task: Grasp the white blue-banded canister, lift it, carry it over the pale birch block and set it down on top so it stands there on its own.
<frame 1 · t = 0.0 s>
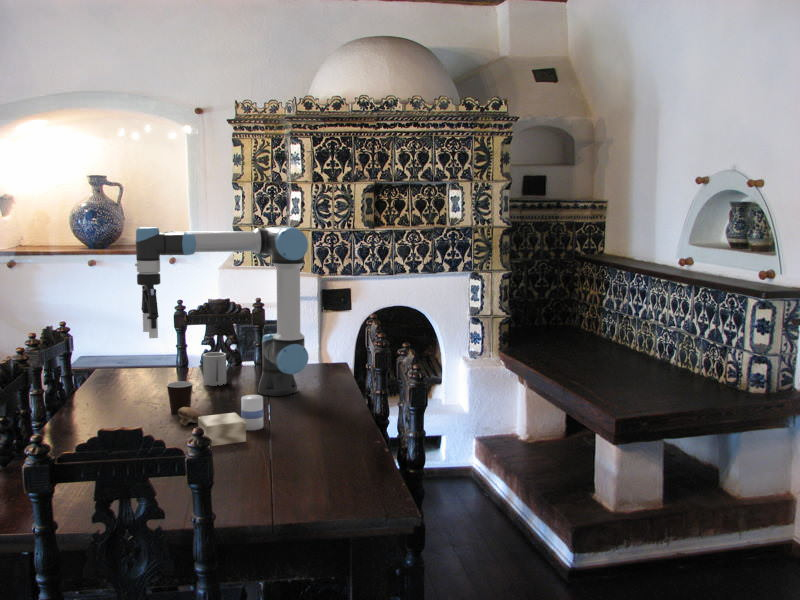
hand: (150, 334, 257), 28 cm above the table, fingers open, 13 cm apart
birch block: (221, 438, 235), on the table
white blue-banded canister: (252, 427, 247), on the table
coffee mug: (182, 411, 265), on the table
cup: (215, 383, 307), on the table
mushroom: (189, 424, 250), on the table
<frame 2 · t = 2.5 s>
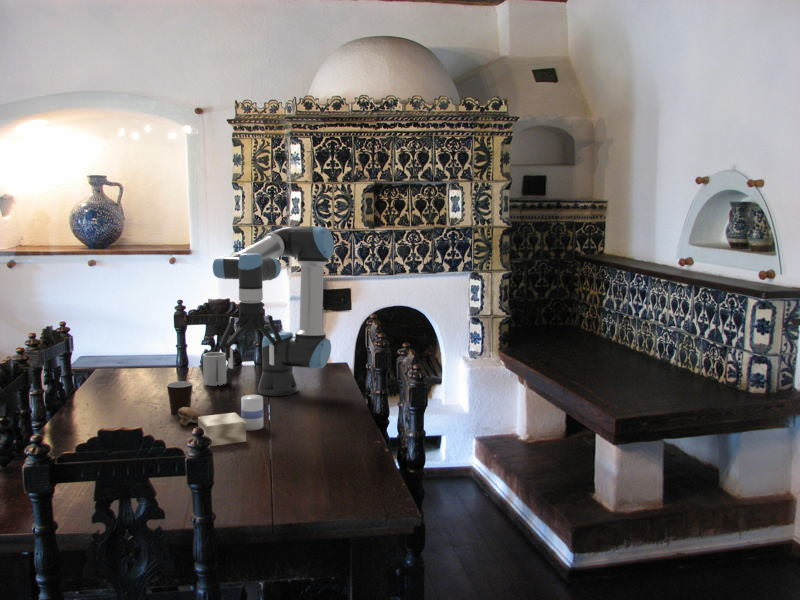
hand: (251, 366, 244), 20 cm above the table, fingers open, 13 cm apart
nothing on the table moved.
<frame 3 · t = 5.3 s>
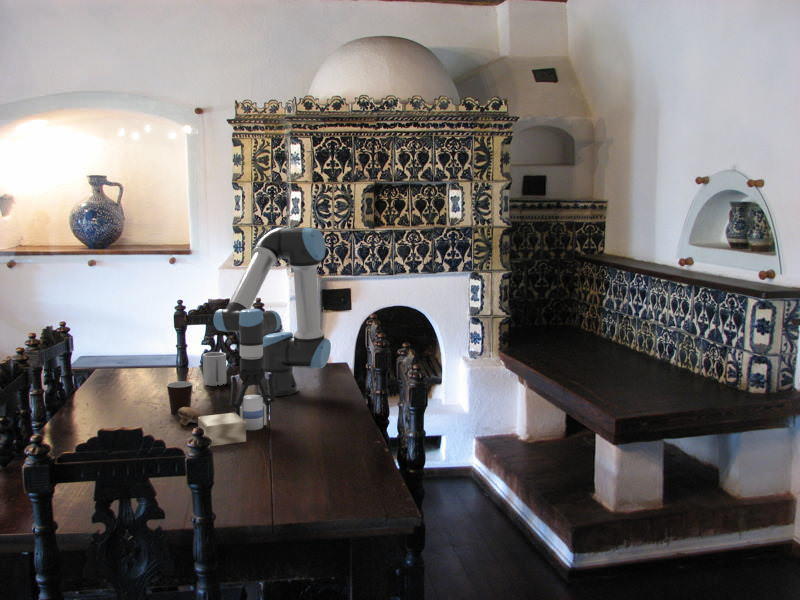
hand: (252, 425, 247), 1 cm above the table, fingers closed on white blue-banded canister, 7 cm apart
white blue-banded canister: (252, 427, 247), on the table, touching gripper
everything else where it was.
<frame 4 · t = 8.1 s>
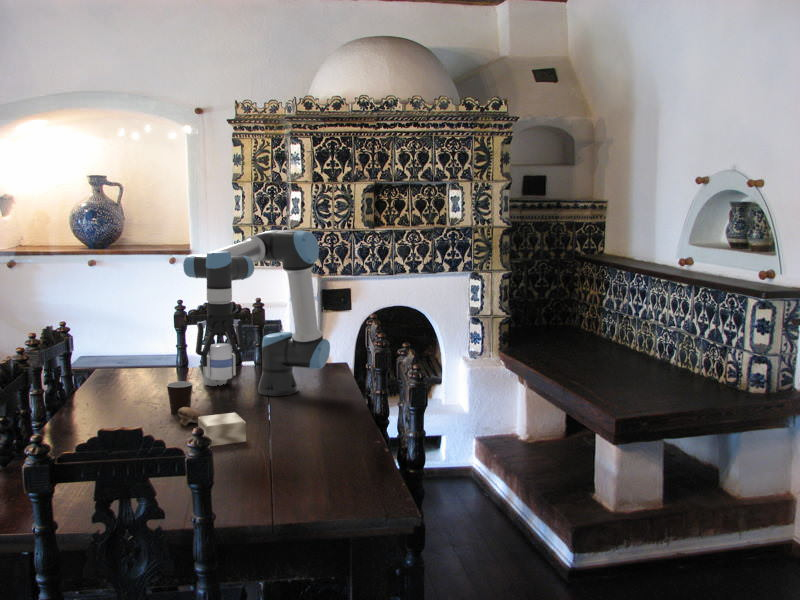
hand: (220, 375, 232), 20 cm above the table, fingers closed on white blue-banded canister, 7 cm apart
white blue-banded canister: (220, 377, 232), point 19 cm above the table, touching gripper
everything else where it was.
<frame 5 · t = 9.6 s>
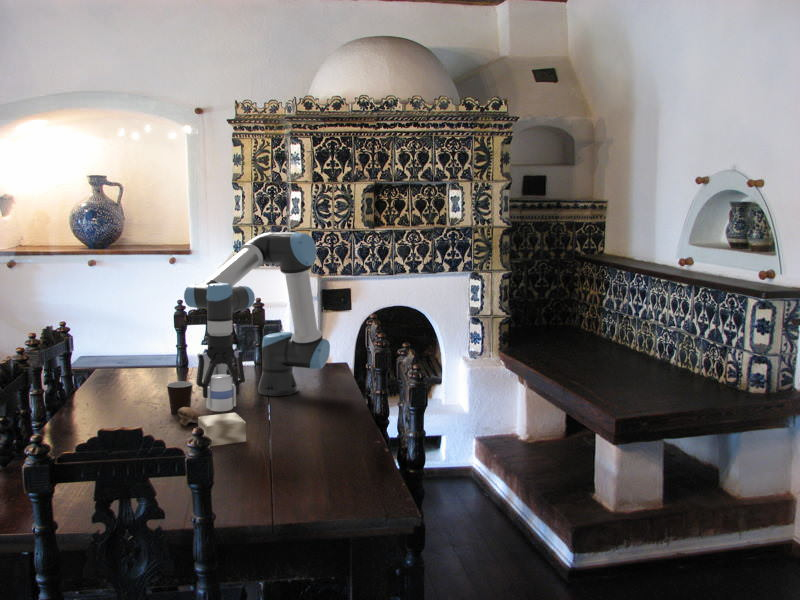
hand: (221, 406, 233), 10 cm above the table, fingers closed on white blue-banded canister, 7 cm apart
white blue-banded canister: (221, 408, 233), point 10 cm above the table, touching gripper
everything else where it was.
when the fingers open (8 cm above the table, at t = 10.9 s): white blue-banded canister drops 1 cm, resting on birch block.
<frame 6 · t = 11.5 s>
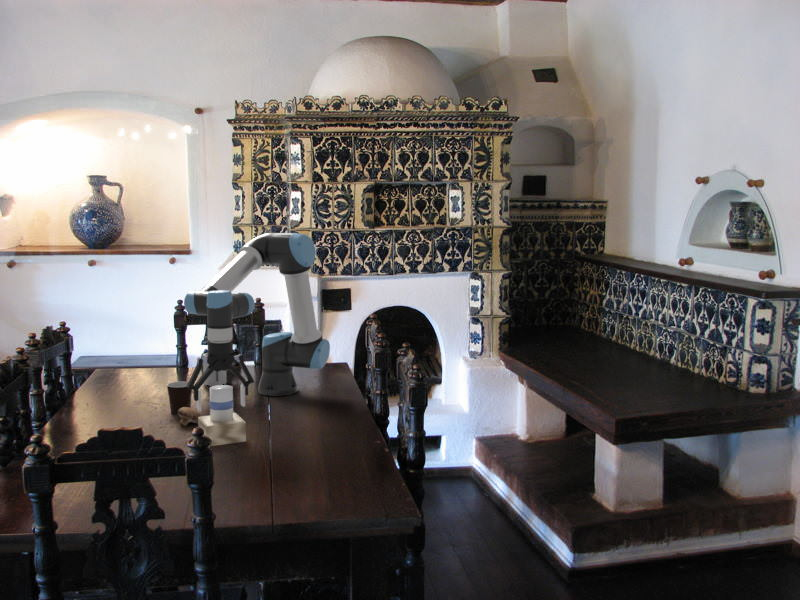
hand: (221, 408, 233), 10 cm above the table, fingers open, 13 cm apart
white blue-banded canister: (221, 419, 234), point 6 cm above the table, touching birch block
everything else where it was.
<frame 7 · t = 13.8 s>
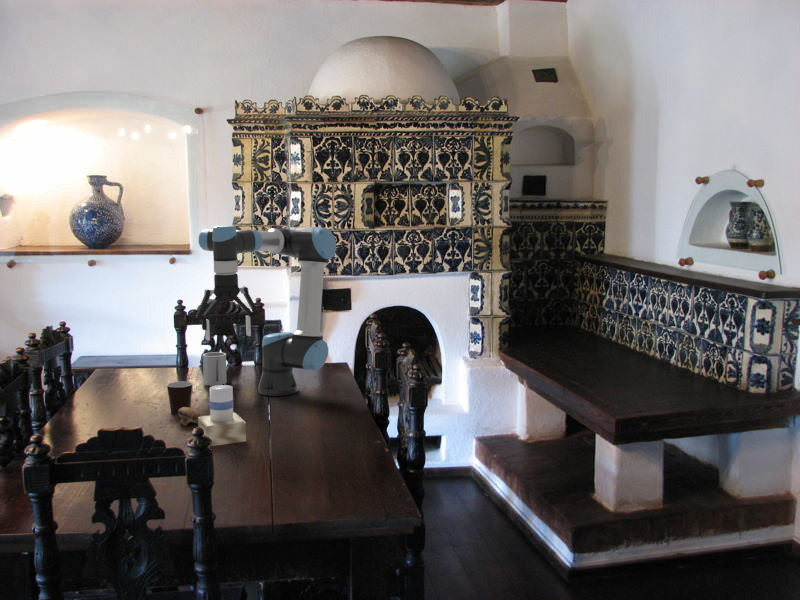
hand: (228, 337, 247), 29 cm above the table, fingers open, 13 cm apart
nothing on the table moved.
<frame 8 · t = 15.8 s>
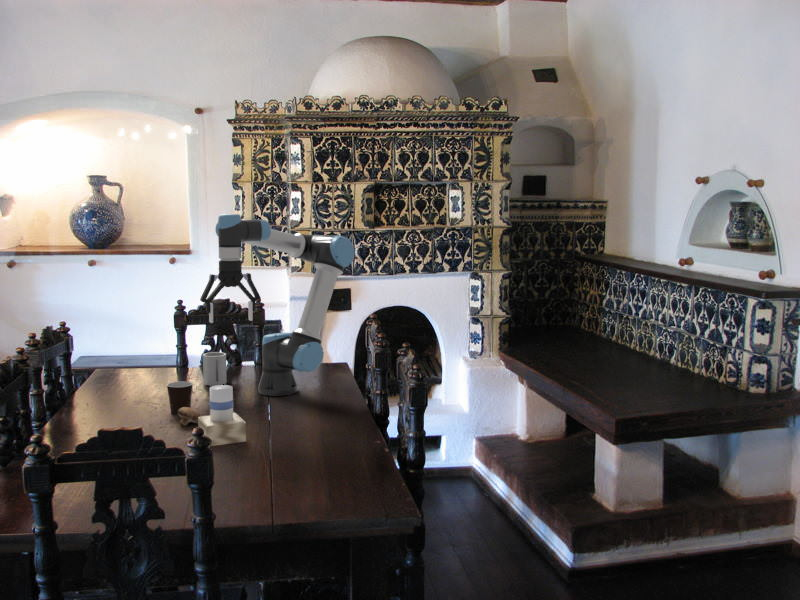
hand: (231, 321, 258), 33 cm above the table, fingers open, 13 cm apart
nothing on the table moved.
at the end: white blue-banded canister inside the target area on the birch block (0.0 cm from its centre), point 6.2 cm above the birch block's base; white blue-banded canister tilted 0°; the gripper is holding nothing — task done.
